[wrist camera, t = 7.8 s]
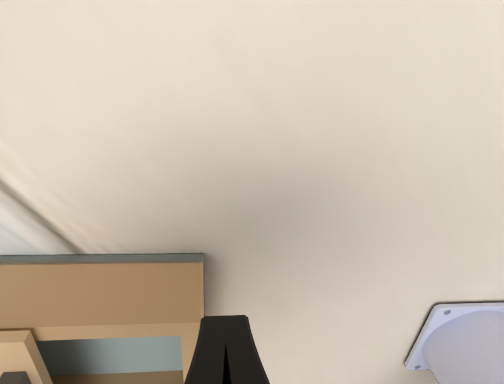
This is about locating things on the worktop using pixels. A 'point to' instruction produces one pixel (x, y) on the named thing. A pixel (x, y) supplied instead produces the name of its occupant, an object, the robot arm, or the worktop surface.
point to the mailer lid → (21, 359)
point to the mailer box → (107, 314)
